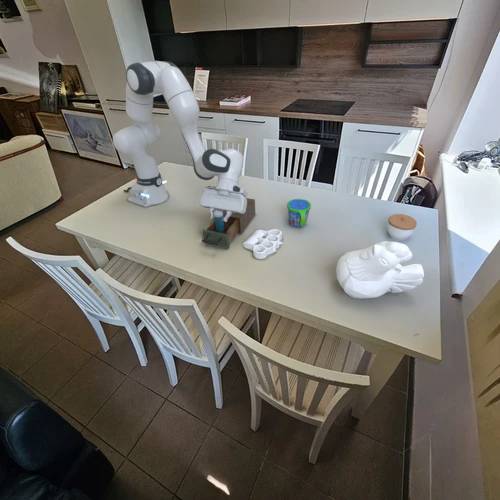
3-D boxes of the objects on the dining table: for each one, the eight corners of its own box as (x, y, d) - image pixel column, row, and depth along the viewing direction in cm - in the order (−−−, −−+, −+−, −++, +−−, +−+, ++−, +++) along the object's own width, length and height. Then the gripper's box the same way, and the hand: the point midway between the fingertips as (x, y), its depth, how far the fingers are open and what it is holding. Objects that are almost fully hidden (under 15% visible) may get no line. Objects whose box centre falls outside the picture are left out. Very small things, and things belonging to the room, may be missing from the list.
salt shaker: (214, 230, 118) (211, 214, 113) (218, 225, 121) (216, 209, 116) (222, 232, 117) (220, 216, 112) (226, 227, 120) (224, 211, 115)
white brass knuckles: (260, 230, 128) (289, 239, 122) (238, 251, 116) (269, 263, 110) (260, 223, 126) (289, 233, 120) (238, 245, 114) (269, 256, 108)
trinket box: (409, 230, 123) (417, 212, 117) (412, 245, 115) (419, 226, 109) (383, 227, 126) (389, 209, 120) (384, 240, 118) (390, 222, 112)
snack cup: (284, 214, 137) (285, 196, 131) (305, 213, 137) (307, 195, 131) (288, 233, 125) (289, 214, 119) (312, 232, 125) (314, 212, 119)
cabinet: (241, 234, 126) (240, 218, 121) (216, 229, 130) (214, 213, 125) (255, 214, 138) (254, 199, 133) (232, 210, 142) (231, 195, 137)
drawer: (223, 256, 113) (221, 242, 109) (198, 250, 117) (196, 237, 113) (243, 227, 129) (242, 215, 124) (221, 223, 132) (219, 211, 128)
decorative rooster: (322, 282, 92) (386, 255, 72) (334, 248, 101) (394, 216, 80) (376, 323, 96) (450, 309, 76) (382, 287, 105) (451, 265, 85)
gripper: (201, 182, 117) (193, 214, 116) (246, 189, 110) (238, 223, 109) (208, 187, 123) (200, 218, 122) (251, 194, 116) (243, 226, 115)
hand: (218, 220), depth 116 cm, fingers closed on salt shaker, 4 cm apart
